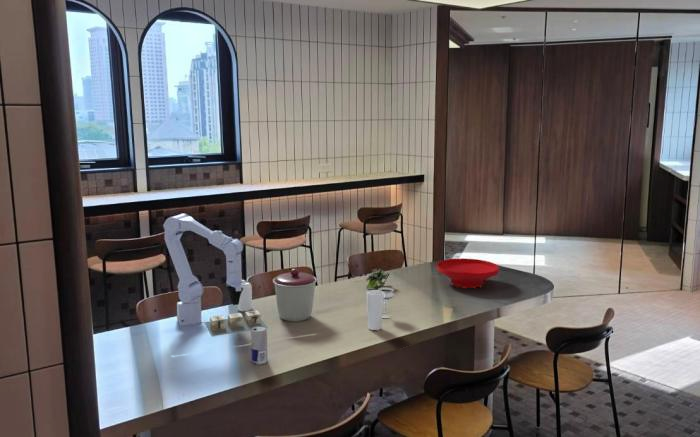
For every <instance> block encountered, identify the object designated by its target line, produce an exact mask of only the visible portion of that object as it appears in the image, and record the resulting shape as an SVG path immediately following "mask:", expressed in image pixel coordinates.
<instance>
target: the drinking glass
mask: <svg viewBox="0 0 700 437" xmlns="http://www.w3.org/2000/svg"><path fill="white" fill-rule="evenodd" d="M365 302H366V314H367V316H366V317H367V328H368V330H370V331H373V330H377V331H380V330H381V329H382V321H383V319H382V315H383V312H384V305H385V303H384V293H383V292H382V291H380V290H378V289H371V290H367V291H366V301H365ZM379 329H380V330H379Z"/></svg>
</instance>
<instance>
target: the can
mask: <svg viewBox="0 0 700 437" xmlns="http://www.w3.org/2000/svg"><path fill="white" fill-rule="evenodd" d="M241 287H243V291H242V293H241V295H240V300H239V304H238V305H236V310H237V311H240V312H249V311H252V309H253V289H252V284H251V282H250V281H248V280H247V281H246V280H245V282H244V283H242V285H241Z"/></svg>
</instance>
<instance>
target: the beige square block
mask: <svg viewBox="0 0 700 437" xmlns="http://www.w3.org/2000/svg"><path fill="white" fill-rule="evenodd" d="M225 319H226V318H225V316H224V315H223V314H222V315H220V314H219V315H214V316H213V315H211V316H209V322H210V326H211V328H212V330H213V331H214V330H221V329H226V322H225Z"/></svg>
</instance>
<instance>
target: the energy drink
mask: <svg viewBox="0 0 700 437" xmlns="http://www.w3.org/2000/svg"><path fill="white" fill-rule="evenodd" d="M250 346H251V347H250V349H251V350H250V351H251V353H250V354H251V357H250V358H251V363H252V364H253V365H255V364H256V366H262V365H265V364H266V363H267V362H268V330H267V328H266V327H264V326H255V327H253V328H252V329H251V331H250Z"/></svg>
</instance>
